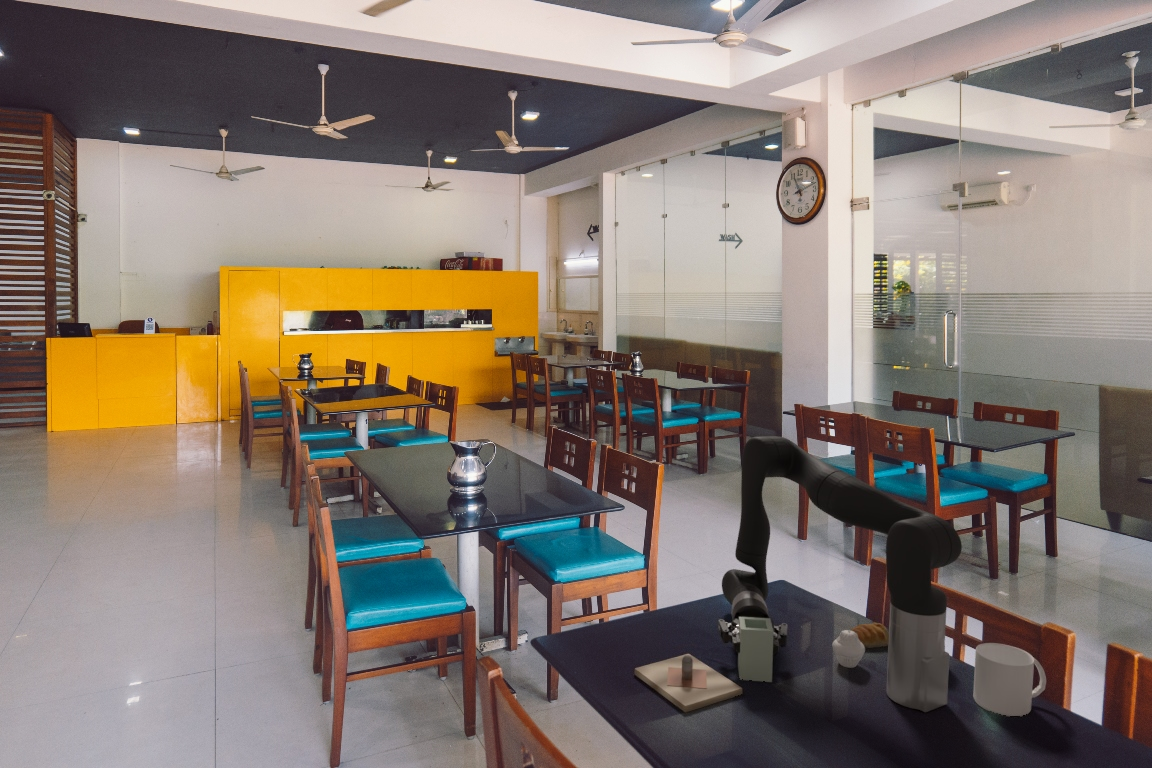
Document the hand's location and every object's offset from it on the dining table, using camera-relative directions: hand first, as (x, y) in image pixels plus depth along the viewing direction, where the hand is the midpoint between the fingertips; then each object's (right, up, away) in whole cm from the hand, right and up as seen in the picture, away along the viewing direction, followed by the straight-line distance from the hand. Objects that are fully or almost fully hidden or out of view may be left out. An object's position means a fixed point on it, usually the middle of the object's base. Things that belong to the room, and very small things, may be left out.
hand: (756, 649), depth 144 cm
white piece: (+20, -6, +7) cm, 22 cm away
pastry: (+28, -5, +17) cm, 33 cm away
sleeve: (0, -6, +3) cm, 6 cm away
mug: (+43, -7, -9) cm, 45 cm away
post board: (-13, -6, -1) cm, 15 cm away
